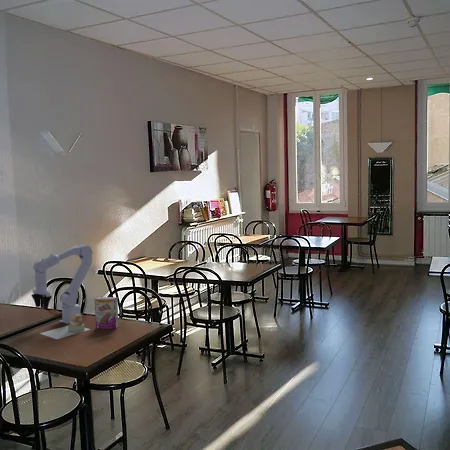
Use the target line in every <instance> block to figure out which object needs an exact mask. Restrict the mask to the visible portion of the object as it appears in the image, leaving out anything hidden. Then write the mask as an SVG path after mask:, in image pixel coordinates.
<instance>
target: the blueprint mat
mask: <svg viewBox="0 0 450 450" xmlns="http://www.w3.org/2000/svg"><path fill="white" fill-rule="evenodd" d="M90 330H91V329H90V328H88V327H87V328H86V327H85V330H83V331H80V332H76V333H74V332H71V331H68V325H65V326H62V327H58V328H53V329H51V330H48V331H44V332H39V334H40V335H43V336H44V337H45V336H46V337H49V338H52V339H54V340H60V339H63V338H67V337H69V336H72V335H76V334H80V333H83V332H86V331H90Z"/></svg>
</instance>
